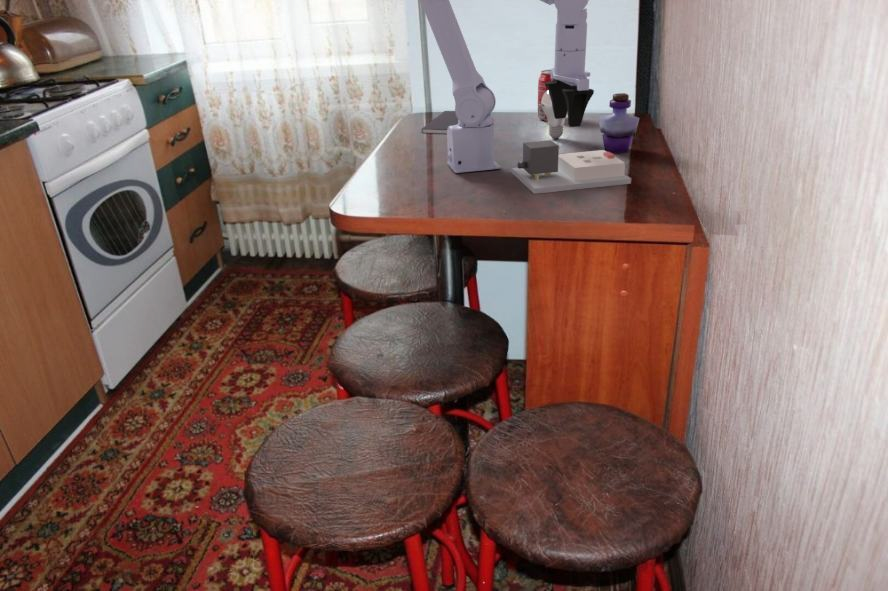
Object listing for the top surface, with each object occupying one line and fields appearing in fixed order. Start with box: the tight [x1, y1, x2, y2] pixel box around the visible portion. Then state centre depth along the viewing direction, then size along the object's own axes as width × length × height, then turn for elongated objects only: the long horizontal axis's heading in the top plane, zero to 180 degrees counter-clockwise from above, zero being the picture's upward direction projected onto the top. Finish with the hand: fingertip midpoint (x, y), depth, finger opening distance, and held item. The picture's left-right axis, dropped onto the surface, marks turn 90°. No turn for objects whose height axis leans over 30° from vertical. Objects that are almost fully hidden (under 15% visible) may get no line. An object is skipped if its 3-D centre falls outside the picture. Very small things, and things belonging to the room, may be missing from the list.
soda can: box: [537, 69, 553, 122], centre depth 183 cm, size 7×7×12 cm
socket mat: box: [511, 167, 632, 195], centre depth 139 cm, size 19×14×1 cm
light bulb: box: [541, 90, 568, 140], centre depth 165 cm, size 7×7×12 cm
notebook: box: [421, 110, 459, 134], centre depth 186 cm, size 13×2×21 cm
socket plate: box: [558, 149, 626, 181], centre depth 139 cm, size 10×10×3 cm
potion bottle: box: [598, 92, 641, 154], centre depth 154 cm, size 9×9×12 cm
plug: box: [517, 139, 560, 180], centre depth 137 cm, size 4×7×6 cm, turn 102°
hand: (567, 122), depth 140 cm, fingers open, 7 cm apart
